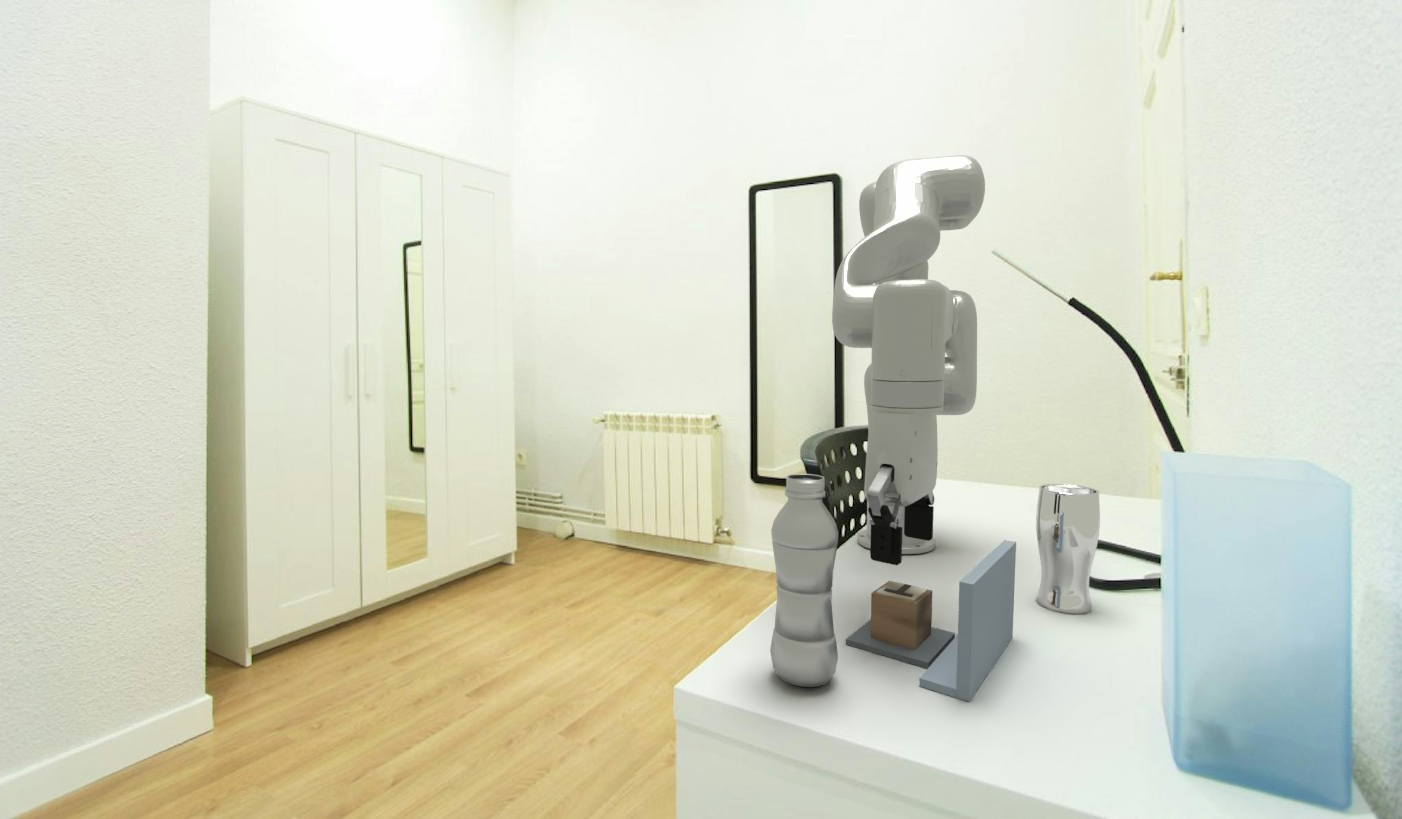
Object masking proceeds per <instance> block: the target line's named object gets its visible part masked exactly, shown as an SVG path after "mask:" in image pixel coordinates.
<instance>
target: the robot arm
mask: <svg viewBox="0 0 1402 819" xmlns="http://www.w3.org/2000/svg"><path fill="white" fill-rule="evenodd" d="M985 180H986V179H985V175H984V172H983V168H982V166H981V164H980V163H979V161H977V159H976V158H974V157H972V156H970V155H961V154H958V155H947V156H936V157H925V158H924V157H923V158H922V157H921V158H912V159H911V158H910V159H905V160H900V161H897V162H894V163H892V164H891V165H890V164H889V166H887V167H886V168H885V169H883V171H882V172H881V173H880V174H879V176H878V178H877V180H876V181H874V182H871V183H869V184H868V185H866V186H865V187H864V188H863V189H862V191H861V192H860V196H859V200H858V201H859V202H858V203H859V204H858V205H859V206H858V207H859V208H858V210H859V211H858V212H859V217H860V219H859V220H860V223H861V228H862V229H861V230H862V232H863V235H864V237H863V238H862V239H861V240H860V241H859V242H857V243H856V244H855V245H854V247H852V248H851V249H850V250H849V251H848V252H847V254H846V255H844V257H843V259H842V261H841V262H840V265H839V267H838V269H837V272H836V277H835V282H834V292H833V298H832V299H833V300H832V308H831V310H832V311H831V312H832V313H831V323H832V330H833V333H834V337H836V339H837V341H838V342H839V343H840V344H842V345H844V346H845V347H848V348H853V349H871V363H870V364H869V365H868V367H867V368H866V370H865V372H864V376H863V387H864V395H865V404H866V411H867V412H866V413H867V425H868V426H867V430H868V433H867V434H868V435H867V444H866V445H867V447H866V455H865V456H866V457H865V472H864V474H865V475H864V488H863V490H864V491H863V492H864V498H865V499H866V502H867V503H866V507H867V508H866V510H867V511H866V529H864V530H861V531H860V532H858V533H857V535H856V537H857V538H856V540H857V543H858V544H859V545H860V546H862V547H864V548H866V549H869V550H870V553H869V554H870V555H869V556H870V557H869V558H870V559H871V560H872V561H874V562H879V563H883V564H889V565H894V566H898V565H900V564H901V563H902V559H903V558H902V557H903V556H902V555H917V554H918V555H919V554H924V553H929V552H931V551H933V550H934V549H935V547H936V540H935V539H934V537H933V536H934V510H935V509H934V508H935V507H934V505H935V495H934V489H935V488H936V485H937V476H938V456H939V454H938V452H939V450H938V421H937V420H938V419H937V416H961V415H966V414H968V413H970V411H972V410H973V408H974V405H975V403H976V399H977V398H976V397H977V390H978V389H977V386H978V385H977V383H978V315H977V307H976V303H975V301H974V298H973V297H972V296H971V295H970V294H969V293H967V292H965V291H962V290H957V289H954V290H953V289H952V290H951V289H949V287H947V286H946V285H944V284H943V283H941V282H939V281H937V280H933V279H929V259H930V258H932V256H934V254H935V253H936V252H937V250H938V248H939V245H940V242H941V231H956V230H964V229H965V228H967V227H968V226H969V225H970V224H971V223H972V222H973V221H974V219H975V218H976V217H977V216H978V215H979V213H980V211H981V208H982V206H983V203H984V199H985V194H986V181H985Z"/></svg>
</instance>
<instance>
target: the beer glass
mask: <svg viewBox="0 0 1402 819" xmlns="http://www.w3.org/2000/svg"><path fill="white" fill-rule="evenodd" d="M1038 488H1039V490H1038V491H1039V492H1038V495H1037V496H1038V497H1037V504H1036V515H1035V516H1036V517H1035V521H1036V522H1035V529H1036V540H1037V547H1038V553H1039V554H1038V555H1039V561H1040V566H1041V568H1040V569H1041V570H1040V573H1041V576H1040V582H1039V588H1038V592H1037V594H1036V602H1037V603H1038V604H1039V605H1041V607H1043V608H1046V609H1047V610H1051V611H1053V612H1057V613H1063V614H1068V615H1069V614H1070V615H1084V614H1087V613H1090V612H1091V611H1092V607H1093V606H1092V599H1091V592H1090V575H1091V572H1092V567H1093V563H1094V559H1095V555H1096V552H1097V547H1098V542H1099V538H1100V537H1099V536H1100V527H1101V511H1100V510H1101V508H1100V507H1101V506H1100V490H1098V489H1095V488H1093V487H1089V486H1083V485H1078V484H1077V485H1075V484H1066V483H1065V484H1064V483H1046V484H1041V485H1039V487H1038Z"/></svg>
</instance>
